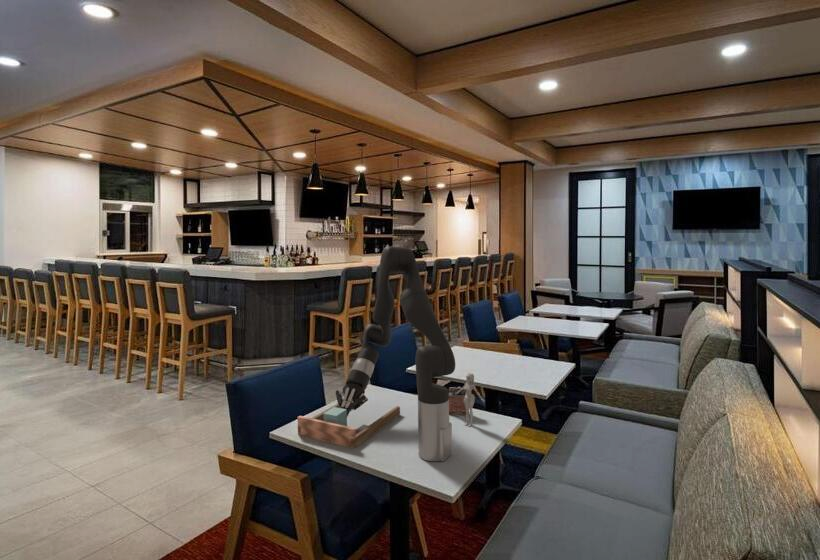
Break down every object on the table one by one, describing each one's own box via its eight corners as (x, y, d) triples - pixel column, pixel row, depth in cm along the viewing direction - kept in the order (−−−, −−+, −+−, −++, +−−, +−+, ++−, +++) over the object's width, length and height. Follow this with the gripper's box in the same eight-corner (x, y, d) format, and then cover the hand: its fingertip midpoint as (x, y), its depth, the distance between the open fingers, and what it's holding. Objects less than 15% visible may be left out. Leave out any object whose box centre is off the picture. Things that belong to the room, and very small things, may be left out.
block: (347, 432, 155) (346, 409, 154) (337, 439, 150) (336, 415, 149) (334, 429, 157) (334, 407, 156) (324, 437, 152) (323, 413, 151)
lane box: (400, 414, 169) (399, 398, 169) (353, 448, 143) (353, 429, 143) (349, 404, 180) (349, 389, 179) (298, 434, 154) (297, 416, 153)
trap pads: (374, 428, 158) (374, 426, 158) (361, 437, 151) (361, 436, 151) (331, 418, 166) (331, 417, 166) (317, 427, 159) (317, 426, 159)
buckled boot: (469, 412, 171) (469, 386, 170) (469, 415, 167) (469, 389, 166) (447, 411, 171) (447, 385, 170) (447, 415, 168) (447, 388, 167)
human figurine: (452, 421, 163) (452, 371, 161) (458, 418, 165) (458, 369, 164) (480, 431, 155) (481, 378, 153) (487, 427, 157) (487, 376, 155)
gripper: (341, 366, 166) (320, 411, 157) (372, 371, 160) (352, 418, 151) (350, 376, 171) (330, 420, 162) (380, 381, 165) (362, 427, 156)
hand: (341, 419), depth 156 cm, fingers closed
